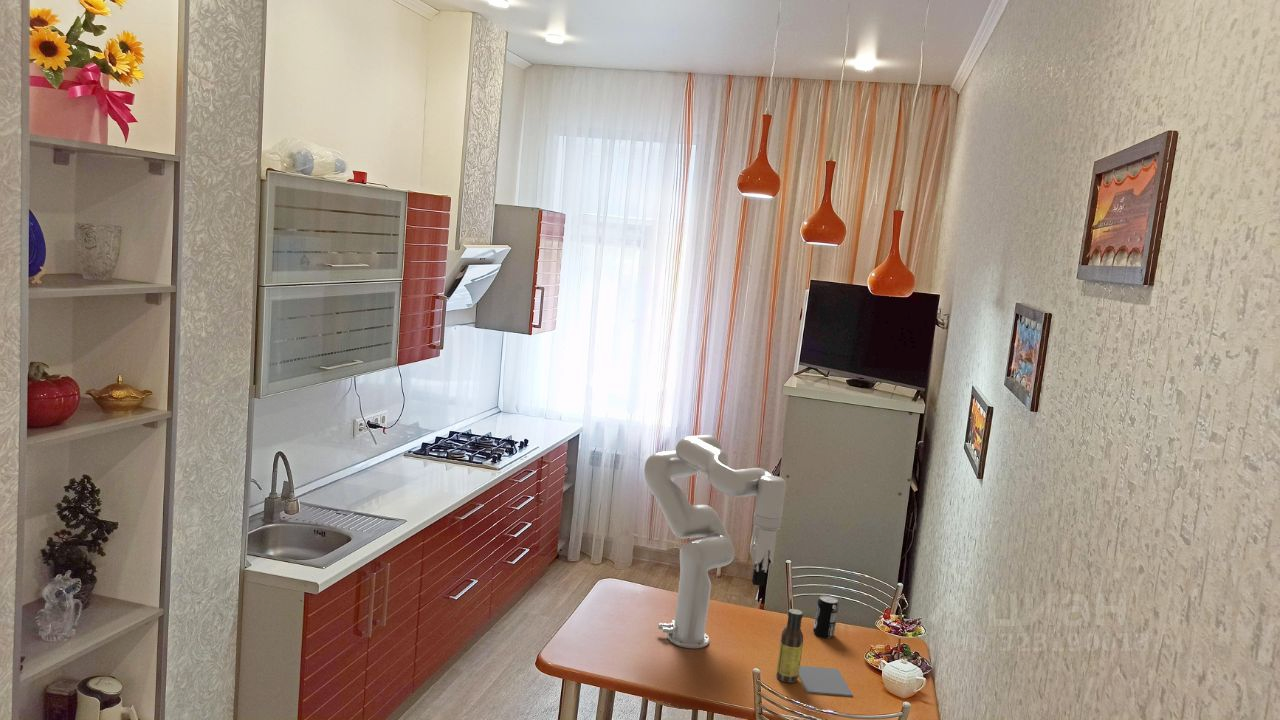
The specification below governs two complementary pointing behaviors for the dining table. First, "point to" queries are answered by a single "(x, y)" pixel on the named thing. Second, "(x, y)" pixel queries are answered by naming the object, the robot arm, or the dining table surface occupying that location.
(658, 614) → the dining table surface
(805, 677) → the mat
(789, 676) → the sauce bottle
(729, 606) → the dining table surface
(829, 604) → the beverage can
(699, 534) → the robot arm
